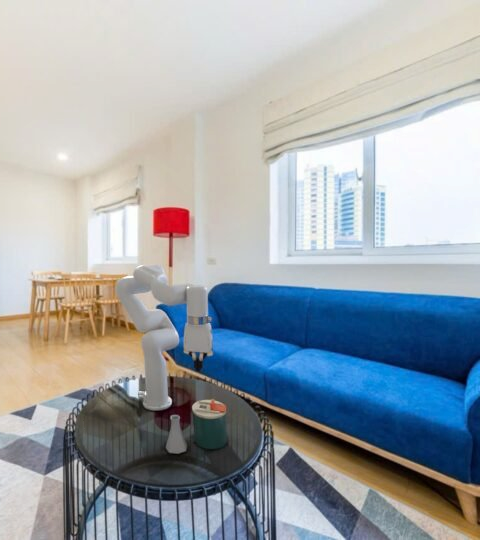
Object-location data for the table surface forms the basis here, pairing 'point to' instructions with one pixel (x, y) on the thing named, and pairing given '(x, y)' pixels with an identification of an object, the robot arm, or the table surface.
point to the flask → (176, 437)
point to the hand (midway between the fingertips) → (198, 370)
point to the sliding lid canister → (209, 425)
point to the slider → (217, 407)
